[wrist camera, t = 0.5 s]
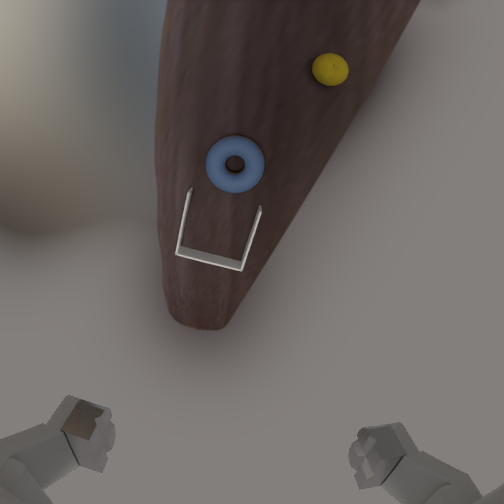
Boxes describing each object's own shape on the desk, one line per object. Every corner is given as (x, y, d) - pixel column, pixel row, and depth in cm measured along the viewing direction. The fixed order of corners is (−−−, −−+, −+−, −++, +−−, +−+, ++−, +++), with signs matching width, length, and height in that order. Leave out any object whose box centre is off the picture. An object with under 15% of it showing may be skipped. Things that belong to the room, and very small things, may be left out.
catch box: (190, 187, 51) (187, 192, 48) (261, 205, 53) (261, 211, 50) (178, 247, 57) (175, 254, 55) (242, 263, 59) (241, 271, 56)
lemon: (301, 66, 41) (310, 60, 34) (327, 51, 39) (341, 43, 32) (320, 92, 43) (333, 91, 36) (345, 77, 41) (362, 74, 34)
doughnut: (223, 199, 52) (222, 206, 48) (196, 151, 48) (193, 154, 44) (272, 174, 51) (276, 178, 47) (247, 125, 47) (248, 124, 43)
